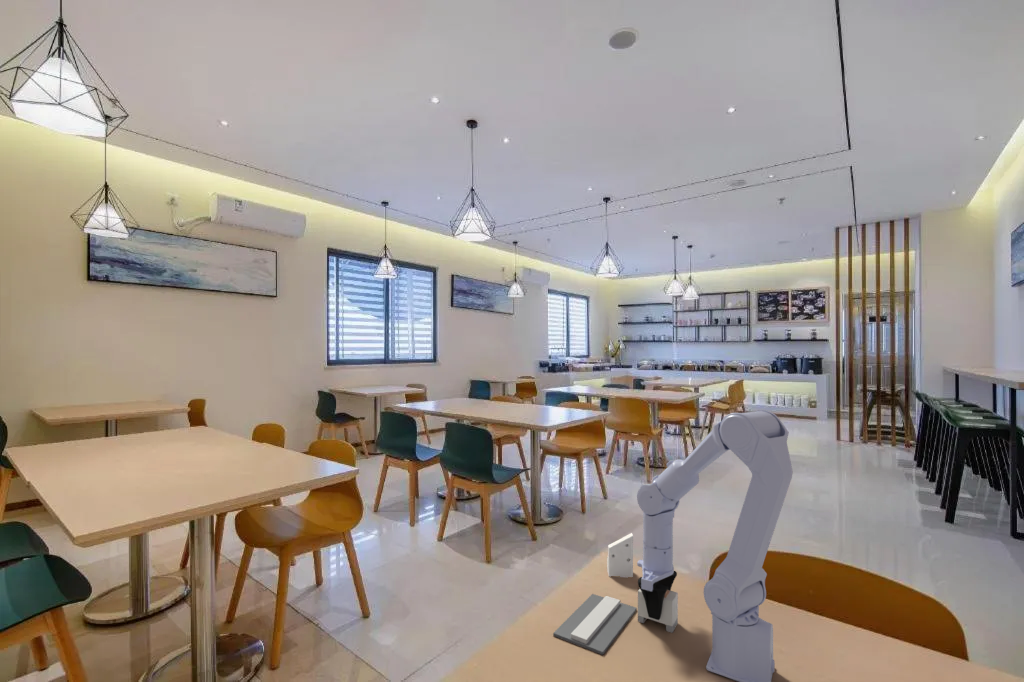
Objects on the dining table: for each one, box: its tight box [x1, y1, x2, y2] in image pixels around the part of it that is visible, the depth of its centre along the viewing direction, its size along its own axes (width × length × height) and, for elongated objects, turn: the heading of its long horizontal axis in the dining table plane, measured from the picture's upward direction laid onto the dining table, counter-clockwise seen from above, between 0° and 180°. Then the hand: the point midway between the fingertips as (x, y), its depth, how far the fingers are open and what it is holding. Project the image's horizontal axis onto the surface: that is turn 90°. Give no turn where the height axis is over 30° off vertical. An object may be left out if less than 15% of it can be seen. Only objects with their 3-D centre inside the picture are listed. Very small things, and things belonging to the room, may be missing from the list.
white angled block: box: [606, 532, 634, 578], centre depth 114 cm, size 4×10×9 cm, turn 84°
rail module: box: [637, 588, 679, 634], centre depth 93 cm, size 7×4×6 cm, turn 56°
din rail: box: [552, 593, 638, 656], centre depth 93 cm, size 10×18×1 cm, turn 146°
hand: (657, 612), depth 93 cm, fingers closed on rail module, 4 cm apart
